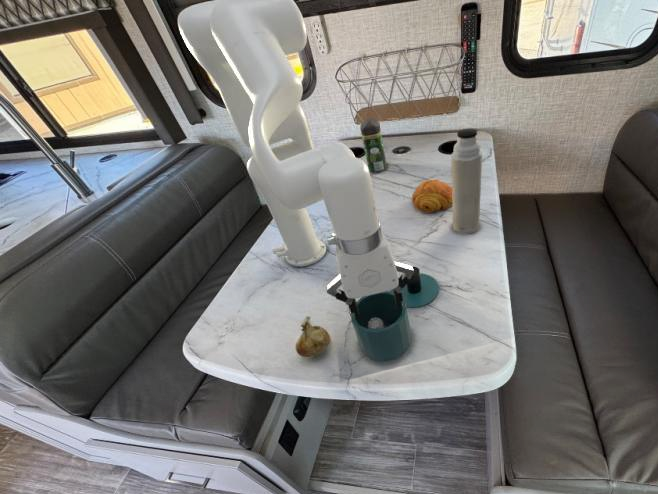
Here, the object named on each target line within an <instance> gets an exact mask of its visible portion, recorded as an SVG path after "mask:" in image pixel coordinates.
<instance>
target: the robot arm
mask: <svg viewBox="0 0 658 494" xmlns="http://www.w3.org/2000/svg"><path fill="white" fill-rule="evenodd" d="M177 26H178V30H179V33H180V35H181V37H182V39H183V41H184V43H185V45H186V47H187V48H188V50H189V51H190V53H191V54H192V56H193V57H194V59H195V60H196V61H197V63H198V64H199V65H200V66H201V67H202V68H203V69H204V70H205V72H206V73H207V74H208V75H209V77H210V78H211V80H212V81H213V83H214V84H215V86H216V88H217V90H218V91H219V94H220V97H221V98H222V101H223V103H224V106H225V108H226V110H227V112H228V114H229V117H230V119H231V122H232V124H233V125H234V128H235V130H236V132H237V134H238V137H239V138H240V140H241V142H242V143H243V144H244V145H245V146H246V147H248V148H250V150H251V153H252V155H251V156H250V157H249V158H248V161H247V163H246V170H247V173H248V175H249V177H250V179H251V180H252V182H253V183H254V185H255V187H256V188H257V190H258V192H259V193H260V195H261V196H262V198H263V201H264V202H265V204H266V206H267V207H268V210H269V213H270V214H271V217H272V219H273V221H274V223H275V226H276V228H277V230H278V232H279V234H280V236H281V238H282V240H283V243H284V244H282V245H281V246H275V247H272V253H273V254H274V255H276V257H277V258H281V257H285V260H286V262H287V263H288V264H289V265H291V266H293V267H306V266H310V265H313V264H315V263H317V262H318V261H320V260H322V258H323V257H324V256H325V254H326V252H327V247H326V244H325V243H324V241H322V240H320V239H318V236H317V233H316V230H315V228H314V225H313V222H312V219H311V217H310V215H309V211H308V209H307V208H308V207H309V206H312V205H314V204H317V203H320V202H321V201H323V202H324V205H325V208H326V211H327V215H328V217H329V220H330V224H331V227H332V231H333V233H332V235H330V236H327V237H326V240H327V244H328V246H335V260H336V266H337V271H338V275H337V276H336V277H335V278H333V280H332V281H331V282H330V283H329V284H327V285H326V287H325V289H326V293H327V294H328V295H330V296H331V297H334V298H335V299H336V300H338V301H340V302H343V303H345V305H346V306H348V308H349V312H350V314H351V313H355V316H356V318H359V311H358V306H357V303H356V302H357V300H356V299H360V298H362V297H364V296H369V295H373V294H377V293H381V292H385V291H391V290H392V289H393V292H394V297H395V301H396V305H397V308H401V305H400V301H403V298H402V292H403V288H404V287H405V286H406V284H407V283H408V282H409V279H410V278H411V276H412V275H413V273H414V270H413V267H412V266H413V265H409V264H405V263H402V262H399V261H395V257H394V254H393V251H392V248H391V245H390V243H389V241H388V239H387V237H386V235H385V234H384V233H382V228H381V224H380V219H379V213H378V208H377V202H376V198H375V194H374V189H373V184H372V178H371V172H370V171H369V169H368V164H367V162H365V161H364V160H362V158H361V159H360V157H359V158H358V157H356V156H355V154H354V152H353V151H352V149H351V148H349V147H348V145H346V144H344V143H343V142H341V141H332V142H329V143H325V144H323V145H320V146H318V147H315V145H314V142H313V139H312V136H311V131H310V128H309V125H308V121H307V118H306V115H305V112H304V109H303V108H302V106H301V103H300V102H301V100H302V97H303V94H304V93H303V92H304V89H303V88H304V87H303V83H302V81H301V79H300V77H299V75H298V73H297V72H296V70H295V68H294V67H293V65H292V64H291V61H290V60H289V58H288V57H287V56H289V55H292V54H297V53H300V52H302V51H303V50H304V49H305V47H306V45H307V41H308V32H307V27H306V22H305V20H304V17H303V15H302V12H301V10H300V8H299V7H298V5H297V3H296V2H295V1H294V0H209V1H204V2H199V3H196V4H192V5H189V6H188V7H186V8H184V9H182V10H181V11H180V12H179V14H178V16H177ZM289 139H290V141H287V142H284V143H281V144H279V145H275V146H272V147H271V145H274V144H277V143H279V142H281V141H285V140H289ZM398 273H402V274H401V275H400V276H399V274H398ZM341 286H342V289H343V290H342V289H340V287H341Z"/></svg>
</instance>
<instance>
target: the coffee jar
mask: <svg viewBox="0 0 658 494" xmlns="http://www.w3.org/2000/svg"><path fill="white" fill-rule="evenodd" d="M359 128H360V135H361V139H362V145H363V150H364V153H365V158H366V165H367V167H368V169H369V173H380V172H383V171H385V170H386V169H387V160H386V153H385V147H384V142H383V136H382V130H381V124H380V121H378V120H377V119H376V118H369V119H364V121H363V122H362V123H360V127H359Z"/></svg>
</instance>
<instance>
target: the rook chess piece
mask: <svg viewBox="0 0 658 494" xmlns="http://www.w3.org/2000/svg"><path fill="white" fill-rule="evenodd" d="M382 328H386V327H385V326H384V324H383V322H382V320H381V319H379V318H374V319H373V318H372V319H371V321H369V322H368V329H376V330H378V329H382Z"/></svg>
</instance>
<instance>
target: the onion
mask: <svg viewBox="0 0 658 494" xmlns="http://www.w3.org/2000/svg"><path fill="white" fill-rule="evenodd" d="M311 320H312V319H311V316H308V315H306V316H305V317H304V320H303V322H302V323H301V324H300V327H301V329H300V331H302V332H301V335H300V336H299V337H298V338H297V340H296V343H295V352H296V353H297V354H298V356H300V357H302V358H316V357H318V356H320V355H321V354H322V353H324V352H325V351H326V350H327V348H328V347H329V346H330V343H331V336H330V334H329V331H327V330H326V329H325V328H323V327H321V326H320V325H314V326H313V325H312V324H311Z"/></svg>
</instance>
